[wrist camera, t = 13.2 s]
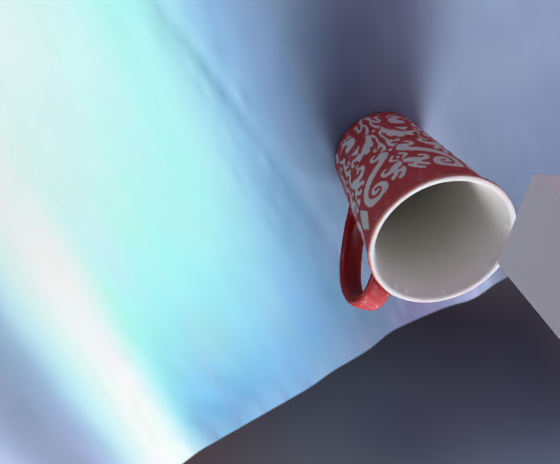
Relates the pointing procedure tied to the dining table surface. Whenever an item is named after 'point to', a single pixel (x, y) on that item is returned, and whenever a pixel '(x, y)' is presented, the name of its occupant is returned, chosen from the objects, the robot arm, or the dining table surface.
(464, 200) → the mug
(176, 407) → the dining table surface
